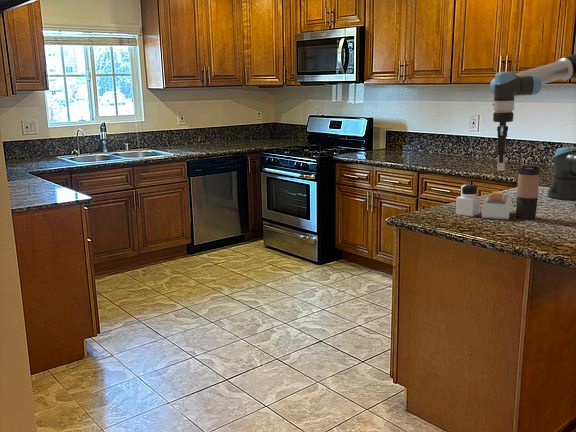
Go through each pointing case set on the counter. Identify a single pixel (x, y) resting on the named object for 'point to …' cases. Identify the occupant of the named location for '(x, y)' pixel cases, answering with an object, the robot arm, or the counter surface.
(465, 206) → the medicine bottle
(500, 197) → the toggle
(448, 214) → the counter surface
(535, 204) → the travel mug
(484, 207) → the grey boxy piece
